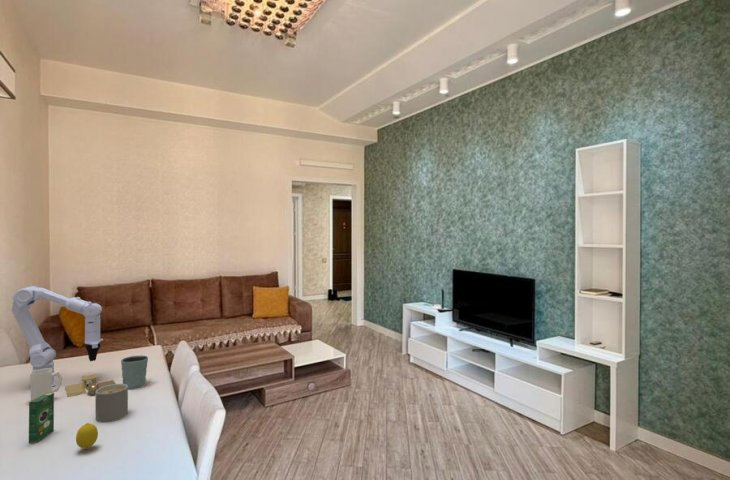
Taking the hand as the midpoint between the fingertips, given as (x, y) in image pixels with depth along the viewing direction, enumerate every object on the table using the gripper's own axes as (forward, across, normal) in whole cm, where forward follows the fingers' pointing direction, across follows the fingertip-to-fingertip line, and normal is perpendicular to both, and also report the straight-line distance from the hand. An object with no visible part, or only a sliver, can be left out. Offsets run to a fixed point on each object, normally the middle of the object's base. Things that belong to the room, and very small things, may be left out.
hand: (92, 360), depth 179 cm
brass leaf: (+9, -9, +5) cm, 14 cm away
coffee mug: (+9, -45, 0) cm, 46 cm away
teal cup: (+9, -19, -13) cm, 25 cm away
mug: (+10, -13, +17) cm, 24 cm away
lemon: (+9, -68, +10) cm, 69 cm away
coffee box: (+10, -49, +20) cm, 54 cm away
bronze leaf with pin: (+9, -14, -2) cm, 17 cm away
